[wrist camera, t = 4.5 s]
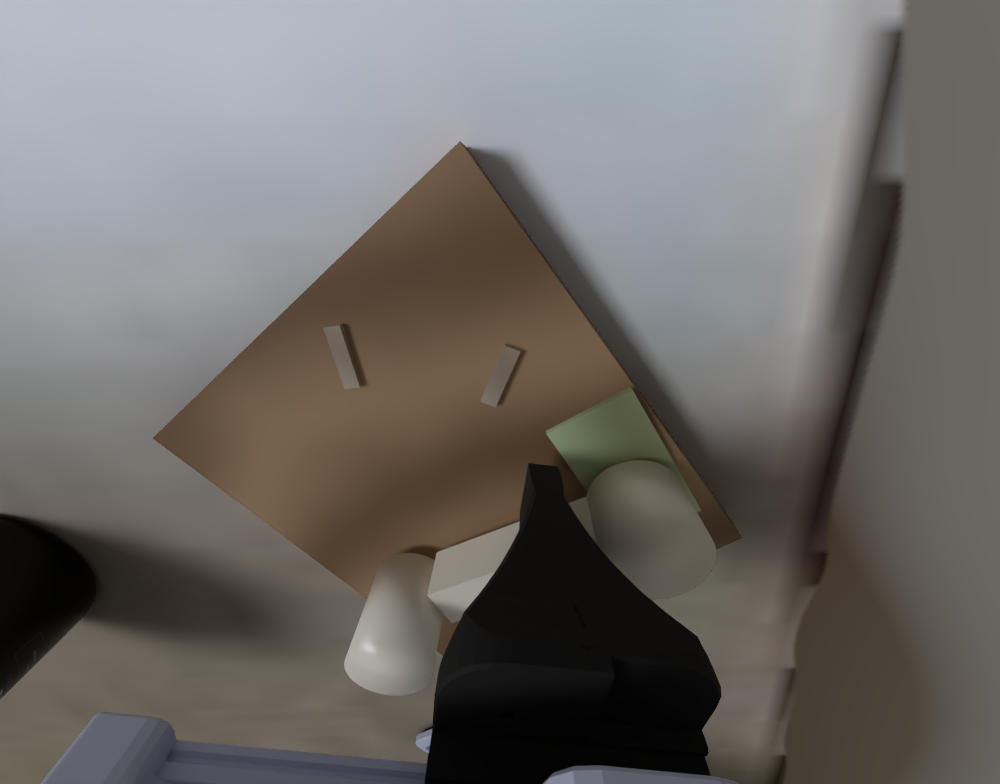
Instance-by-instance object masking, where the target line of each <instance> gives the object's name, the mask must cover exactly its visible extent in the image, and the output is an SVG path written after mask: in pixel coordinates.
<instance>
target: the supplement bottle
mask: <svg viewBox="0 0 1000 784" xmlns="http://www.w3.org/2000/svg"><path fill="white" fill-rule="evenodd" d="M95 595H96V584H95V579H94V577H93V574H92V572H91V570H90V569H89V567H88V566H87V564H86V563H85V562H84V561H83V559H82V558H81V557H80V556H79V555H78V554H77V553H76V552H75V551H73V550H72V549H71V548H70V547H69V546H67V545H66V544H64V543H63V542H62V541H60V540H58V539H57V538H55V537H54V536H52V535H50V534H48V533H46V532H44V531H42V530H40V529H38V528H35V527H33V526H30V525H28V524H25V523H22V522H18V521H14V520H10V519H5V518H0V699H1V698H2V697H3V696H4V695H5V694H6V693H7V692H8V691H9V690H10V689H11V688H12V687H13V686H14V685H15V684H16V683H17V682H18V681H19V680H20V679H21V678H22V677H23V676H24V675H25V674H26V673H27V672H28V671H29V670H30V669H31V668H32V667H33V666H34V665H35V664H36V663H37V662H39V661H40V660H41V659H42V658H43V657H44V656H45V655H46V654H47V653H48V652H49V651H50V650H51V649H52V648H53V647H54V646H55V645H56V644H57V643H58V642H59V641H60V640H61V639H62V638H63V637H64V636H65V635H66V634H67V633H68V632H69V631H70V630H71V629H72V628H73V627H74V626H75V625H76V624H77V623H78V622H79V621H80V620H81V619H82V618H83V617H84V615H85V614H86V613H87V612H88V611H89V609H90V608H91V606H92V604H93V602H94V599H95Z"/></svg>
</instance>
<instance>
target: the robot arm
mask: <svg viewBox="0 0 1000 784" xmlns="http://www.w3.org/2000/svg"><path fill="white" fill-rule="evenodd" d="M720 698H721V686H720V684H719V681H718V679H717V677H716V674H715V672H714V669H713V667H712V665H711V663H710V660H709V658H708V656H707V654H706V652H705V650H704V649H703V647H702V645H701V643H700V641H699V639H698V637H697V636H696V635H695V634H693V633H692V632H691V631H689V630H688V629H687V628H685V627H684V626H683V625H682V624H680V623H679V622H678V621H676V620H675V619H674V618H672V617H671V616H670V615H668V614H667V613H666V612H665V611H663V610H662V609H661V608H660V607H659V606H657V605H656V604H655V603H654V602H653V601H652V600H651V599H649V598H648V597H647V596H646V595H645V594H644V593H642V592H641V591H640V590H639V589H638V588H637V587H636V586H635V585H634V584H633V583H632V582H631V581H630V580H629V579H628V578H627V577H626V576H625V575H624V574H623V573H622V572H621V571H620V570H619V569H618V568H617V567H616V566H615V565H614V564H613V563H612V562H611V561H610V559H609V558H608V557H607V556H606V555H605V554H604V552H603V551H602V550H601V549H600V548H599V546H598V545H597V544H596V543H595V541H594V540H593V539H592V537H591V536H590V535H589V533H588V532H587V531H586V529H585V528H584V526H583V525H582V523H581V522H580V521H579V519H578V518H577V516H576V515H575V513H574V511H573V510H572V508H571V506H570V505H569V503H568V502H567V500H566V498H565V497H564V490H563V480H562V477H561V474H560V471H559V469H558V466H551V465H542V464H533V463H528V468H527V474H526V480H525V485H524V491H523V496H522V502H521V508H520V523H519V531H518V533H517V535H516V537H515V539H514V541H513V543H512V545H511V547H510V549H509V550H508V552H507V554H506V555H505V557H504V559H503V561H502V562H501V564H500V565H499V567H498V569H497V570H496V571H495V573H494V574H493V576H492V577H491V578H490V580H489V581H488V583H487V584H486V586H485V587H484V588H483V590H482V591H481V592H480V593H479V595H478V596H477V597H476V598H475V599H474V601H473V602H472V603H471V604H470V605H469V607H468V608H467V609H466V610H465V611H464V613H463V615H462V618H461V619H460V621H459V623H458V625H457V627H456V629H455V631H454V633H453V635H452V637H451V639H450V641H449V644H448V646H447V648H446V651H445V653H444V655H443V658H442V661H441V664H440V668H439V672H438V679H437V685H436V691H435V701H434V714H433V728H432V729H430V730H427V731H425V732H422V733H420V734H418V735H417V738H416V745H417V746H418V747H419V748H421V749H422V750H424V751H426V752H427V753H429V755H428V761H427V764H426V763H416V762H405V761H395V760H384V759H374V758H363V757H353V756H342V755H331V754H321V753H310V752H300V751H289V750H279V749H268V748H258V747H247V746H237V745H226V744H215V743H205V742H194V741H184V740H176V736H175V731H174V729H173V727H172V725H171V724H170V723H169V722H167V721H165V720H163V719H161V718H158V717H153V716H145V715H134V714H124V713H113V712H100V713H98V714H96V715H95V716H94V717H93V718H92V719H91V721H90V722H89V723H88V724H87V726H86V727H85V728H84V729H83V731H82V732H81V733H80V735H79V736H78V737H77V738H76V740H75V741H74V742H73V743H72V745H71V746H70V747H69V748H68V750H67V751H66V752H65V753H64V755H63V756H62V757H61V758H60V760H59V761H58V762H57V763H56V765H55V766H54V767H53V768H52V770H51V771H50V772H49V774H48V775H47V776H46V777H45V779H44V780H43V781H42V782H41V784H739V783H738V782H736V781H732V780H728V779H724V778H720V777H716V776H711V775H710V772H709V769H708V766H707V763H706V760H705V757H704V756H707V755H708V746H707V743H706V740H705V737H704V735H703V732H702V729H703V727H704V726H705V724H706V723H707V721H708V720H709V718H710V717H711V715H712V713H713V712H714V710H715V709H716V707H717V705H718V703H719V700H720Z"/></svg>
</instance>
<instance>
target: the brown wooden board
mask: <svg viewBox="0 0 1000 784" xmlns="http://www.w3.org/2000/svg"><path fill="white" fill-rule="evenodd" d="M153 439H154V440H156V441H157V442H158V443H160V444H161V445H162V446H164V447H165V448H166V449H168V450H169V451H170V452H172V453H173V454H174V455H176V456H177V457H178V458H180V459H181V460H182V461H184V462H185V463H187V464H188V465H189V466H191V467H192V468H193V469H195V470H196V471H197V472H199V473H200V474H201V475H203V476H204V477H205V478H207V479H208V480H209V481H211V482H212V483H213V484H215V485H216V486H217V487H219V488H220V489H221V490H223V491H224V492H225V493H227V494H228V495H229V496H231V497H232V498H233V499H235V500H236V501H237V502H239V503H240V504H241V505H243V506H244V507H245V508H247V509H248V510H249V511H251V512H252V513H253V514H255V515H256V516H257V517H259V518H260V519H261V520H263V521H264V522H265V523H267V524H268V525H269V526H271V527H272V528H273V529H275V530H276V531H277V532H279V533H280V534H281V535H283V536H284V537H285V538H287V539H288V540H289V541H291V542H292V543H293V544H295V545H296V546H297V547H299V548H300V549H301V550H303V551H304V552H305V553H307V554H308V555H309V556H311V557H312V558H313V559H315V560H316V561H317V562H319V563H320V564H321V565H323V566H324V567H325V568H327V569H328V570H329V571H331V572H332V573H333V574H335V575H336V576H337V577H339V578H340V579H341V580H343V581H344V582H345V583H347V584H348V585H349V586H351V587H352V588H353V589H355V590H356V591H357V592H359V593H360V594H361V595H363V596H364V597H365V598H368V596H369V593H370V590H371V587H372V585H373V582H374V579H375V576H376V574H377V571H378V568H379V566H380V564H381V563H382V562H383V561H384V560H385V559H387V558H388V557H390V556H393V555H396V554H400V553H416V554H421V555H424V556H427V557H430V558H432V559H433V560H435V558H436V553H437V552H439V551H442V550H444V549H447V548H450V547H452V546H455V545H458V544H461V543H463V542H466V541H469V540H471V539H474V538H477V537H479V536H482V535H485V534H487V533H490V532H493V531H495V530H498V529H501V528H503V527H506V526H509V525H511V524H514V523H517V522H519V521H520V508H521V502H522V496H523V491H524V485H525V480H526V474H527V468H528V463H533V464H542V465H551V466H558V469H559V471H560V474H561V477H562V480H563V490H564V497H565V498H566V500H567V502H568V503H570V502H573V501H575V500H578V499H581V498H583V497H586V495H587V491H588V489H589V486H590V485H591V483H592V482H593V481H594V479H595V478H596V477H597V476H598V475H599V474H600V473H602V472H603V471H604V470H606V469H608V468H609V467H611V466H614V465H616V464H619V463H622V462H626V461H632V460H646V461H652V462H656V463H659V464H661V465H663V466H665V467H667V468H669V469H670V470H671V471H672V472H673V473H674V474H675V475H676V476H677V477H678V479H679V481H680V483H681V485H682V486H683V488H684V490H685V492H686V493H687V495H688V497H689V499H690V501H691V502H692V504H693V506H694V508H695V509H696V511H697V513H698V515H699V516H700V518H701V520H702V522H703V524H704V525H705V527H706V529H707V531H708V532H709V534H710V536H711V538H712V540H713V542H714V543H715V547H716V549H718V548H720V547H722V546H725V545H727V544H729V543H731V542H733V541H736V540H738V539H740V538H742V537H741V535H740V534H739V532H738V531H737V529H736V527H735V526H734V524H733V523H732V521H731V520H730V518H729V517H728V515H727V514H726V512H725V511H724V510H723V508H722V507H721V505H720V504H719V502H718V501H717V500H716V498H715V497H714V495H713V494H712V493H711V491H710V490H709V488H708V487H707V486H706V484H705V483H704V481H703V480H702V479H701V477H700V476H699V474H698V473H697V472H696V470H695V469H694V467H693V466H692V464H691V463H690V462H689V460H688V459H687V457H686V456H685V455H684V453H683V452H682V450H681V449H680V448H679V446H678V445H677V443H676V442H675V441H674V439H673V438H672V436H671V435H670V434H669V432H668V431H667V429H666V428H665V426H664V425H663V424H662V422H661V421H660V419H659V418H658V417H657V415H656V414H655V412H654V411H653V410H652V408H651V407H650V405H649V404H648V403H647V401H646V400H645V398H644V397H643V396H642V394H641V393H640V391H639V390H638V388H637V387H636V386H635V384H634V383H633V381H632V380H631V379H630V377H629V376H628V374H627V373H626V372H625V370H624V369H623V367H622V366H621V365H620V363H619V362H618V360H617V359H616V358H615V356H614V355H613V353H612V352H611V350H610V349H609V348H608V346H607V345H606V343H605V342H604V341H603V339H602V338H601V336H600V335H599V334H598V332H597V331H596V329H595V328H594V327H593V325H592V324H591V322H590V321H589V319H588V318H587V317H586V315H585V314H584V312H583V311H582V310H581V308H580V307H579V305H578V304H577V303H576V301H575V300H574V298H573V297H572V296H571V294H570V293H569V291H568V290H567V289H566V287H565V286H564V284H563V283H562V281H561V280H560V279H559V277H558V276H557V274H556V273H555V272H554V270H553V269H552V267H551V266H550V265H549V263H548V262H547V260H546V259H545V258H544V256H543V255H542V253H541V252H540V251H539V249H538V248H537V246H536V245H535V243H534V242H533V241H532V239H531V238H530V236H529V235H528V234H527V232H526V231H525V229H524V228H523V227H522V225H521V224H520V222H519V221H518V220H517V218H516V217H515V215H514V214H513V213H512V211H511V210H510V208H509V207H508V205H507V204H506V203H505V201H504V200H503V198H502V197H501V196H500V194H499V193H498V191H497V190H496V189H495V187H494V186H493V184H492V183H491V182H490V180H489V179H488V177H487V176H486V175H485V173H484V172H483V170H482V169H481V167H480V166H479V165H478V163H477V162H476V160H475V159H474V158H473V156H472V155H471V153H470V152H469V151H468V149H467V148H466V146H465V145H463V144H462V143H461V142H459V143H458V144H457V145H456V146H455V147H454V148H453V149H452V150H450V151H449V152H448V153H447V154H446V155H445V156H444V157H443V158H442V159H441V160H440V161H439V162H438V163H437V164H436V165H435V166H434V167H433V168H432V169H431V170H430V171H429V172H428V173H427V174H426V175H425V176H424V177H423V178H422V179H420V180H419V181H418V182H417V183H416V184H415V185H414V186H413V187H412V188H411V189H410V190H409V191H408V192H407V193H406V194H405V195H404V196H403V197H402V198H401V199H400V200H399V201H398V202H397V203H396V204H395V205H394V206H393V207H391V208H390V209H389V210H388V211H387V212H386V213H385V214H384V215H383V216H382V217H381V218H380V219H379V220H378V221H377V222H376V223H375V224H374V225H373V226H372V227H371V228H370V229H369V230H368V231H367V232H366V233H365V234H364V235H363V236H361V237H360V238H359V239H358V240H357V241H356V242H355V243H354V244H353V245H352V246H351V247H350V248H349V249H348V250H347V251H346V252H345V253H344V254H343V255H342V256H341V257H340V258H339V259H338V260H337V261H336V262H335V263H334V264H333V265H331V266H330V267H329V268H328V269H327V270H326V271H325V272H324V273H323V274H322V275H321V276H320V277H319V278H318V279H317V280H316V281H315V282H314V283H313V284H312V285H311V286H310V287H309V288H308V289H307V290H306V291H305V292H304V293H303V294H301V295H300V296H299V297H298V298H297V299H296V300H295V301H294V302H293V303H292V304H291V305H290V306H289V307H288V308H287V309H286V310H285V311H284V312H283V313H282V314H281V315H280V316H279V317H278V318H277V319H276V320H275V321H274V322H273V323H271V324H270V325H269V326H268V327H267V328H266V329H265V330H264V331H263V332H262V333H261V334H260V335H259V336H258V337H257V338H256V339H255V340H254V341H253V342H252V343H251V344H250V345H249V346H248V347H247V348H246V349H245V350H244V351H242V352H241V353H240V354H239V355H238V356H237V357H236V358H235V359H234V360H233V361H232V362H231V363H230V364H229V365H228V366H227V367H226V368H225V369H224V370H223V371H222V372H221V373H220V374H219V375H218V376H217V377H216V378H215V379H214V380H212V381H211V382H210V383H209V384H208V385H207V386H206V387H205V388H204V389H203V390H202V391H201V392H200V393H199V394H198V395H197V396H196V397H195V398H194V399H193V400H192V401H191V402H190V403H189V404H188V405H187V406H186V407H185V408H184V409H182V410H181V411H180V412H179V413H178V414H177V415H176V416H175V417H174V418H173V419H172V420H171V421H170V422H169V423H168V424H167V425H166V426H165V427H164V428H163V429H162V430H161V431H160V432H159V433H158V434H157V435H156V436H155V437H154V438H153ZM458 623H459V621H457V622H454V623H451V622H450V620H449V619H448V618H447V617H446V616H445V615H444V614H443V618H442V624H441V630H440V636H439V641H438V647H437V651H438V652H439V653H440V654H442V655H444V653H445V651H446V648H447V646H448V644H449V641H450V639H451V637H452V635H453V633H454V631H455V629H456V627H457V625H458Z"/></svg>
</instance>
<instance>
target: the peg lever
mask: <svg viewBox="0 0 1000 784" xmlns="http://www.w3.org/2000/svg"><path fill="white" fill-rule="evenodd" d="M569 505H570V506H571V508H572V510H573V511H574V513H575V515H576V516H577V518H578V519H579V521H580V522H581V523H582V525H583V526H584V528H585V529H586V531H587V532H588V533H589V535H590V536H591V537H592V539H593V540H594V541H595V543H596V544H597V545H598V546H599V548H600V549H601V550H602V551H603V552H604V554H605V555H606V556H607V557H608V558H609V559H610V561H611V562H612V563H613V564H614V565H615V566H616V567H617V568H618V569H619V570H620V571H621V572H622V573H623V574H624V575H625V576H626V577H627V578H628V579H629V580H630V581H631V582H632V583H633V584H634V585H635V586H636V587H637V588H638V589H639V590H640V591H641V592H642V593H644V594H645V595H646V596H647V597H648V598H649V599H651V600H655V599H664V598H670V597H674V596H677V595H680V594H682V593H685V592H687V591H689V590H691V589H693V588H694V587H696V586H697V585H699V584H700V583H701V582H702V581H703V580H705V578H706V577H707V576H708V575H709V574H710V572H711V571H712V569H713V567H714V565H715V561H716V555H717V553H716V547H715V543H714V542H713V540H712V538H711V536H710V534H709V532H708V531H707V529H706V527H705V525H704V524H703V522H702V520H701V518H700V516H699V515H698V513H697V511H696V509H695V508H694V506H693V504H692V502H691V501H690V499H689V497H688V495H687V493H686V492H685V490H684V488H683V486H682V485H681V483H680V481H679V479H678V477H677V476H676V475H675V474H674V473H673V472H672V471H671V470H670V469H669V468H667V467H665V466H663V465H661V464H659V463H656V462H652V461H646V460H632V461H626V462H622V463H619V464H616V465H614V466H611V467H609V468H608V469H606V470H604V471H603V472H602V473H600V474H599V475H598V476H597V477H596V478H595V479H594V481H593V482H592V483H591V485H590V486H589V489H588V491H587V495H586V497H583V498H581V499H578V500H575V501H573V502H570V503H569ZM519 523H520V521H519V522H517V523H514V524H511V525H509V526H506V527H503V528H501V529H498V530H495V531H493V532H490V533H487V534H485V535H482V536H479V537H477V538H474V539H471V540H469V541H466V542H463V543H461V544H458V545H455V546H452V547H450V548H447V549H444V550H442V551H439V552H437V553H436V558H435V560H433V559H432V558H430V557H427V556H424V555H421V554H416V553H400V554H396V555H393V556H390V557H388V558H387V559H385V560H384V561H383V562H382V563H381V564H380V566H379V568H378V571H377V574H376V576H375V579H374V582H373V585H372V587H371V590H370V593H369V596H368V598H367V601H366V604H365V607H364V609H363V612H362V615H361V617H360V620H359V623H358V626H357V628H356V631H355V634H354V637H353V639H352V642H351V645H350V648H349V650H348V653H347V656H346V659H345V663H344V666H345V670H346V672H347V674H348V676H349V677H350V678H351V679H352V680H353V681H354V682H355V683H357V684H358V685H360V686H361V687H363V688H365V689H367V690H370V691H373V692H376V693H380V694H385V695H408V694H412V693H416V692H418V691H420V690H422V689H424V688H425V687H426V686H428V684H429V683H430V682H431V680H432V676H433V671H434V665H435V659H436V653H437V647H438V641H439V636H440V630H441V624H442V618H443V614H444V615H445V616H446V617H447V618H448V619H449V620H450V622H451V623H454V622H457V621H460V619H461V618H462V615H463V613H464V611H465V610H466V609H467V608H468V607H469V605H470V604H471V603H472V602H473V601H474V599H475V598H476V597H477V596H478V595H479V593H480V592H481V591H482V590H483V588H484V587H485V586H486V584H487V583H488V581H489V580H490V578H491V577H492V576H493V574H494V573H495V571H496V570H497V569H498V567H499V565H500V564H501V562H502V561H503V559H504V557H505V555H506V554H507V552H508V550H509V549H510V547H511V545H512V543H513V541H514V539H515V537H516V535H517V533H518V531H519Z"/></svg>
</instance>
